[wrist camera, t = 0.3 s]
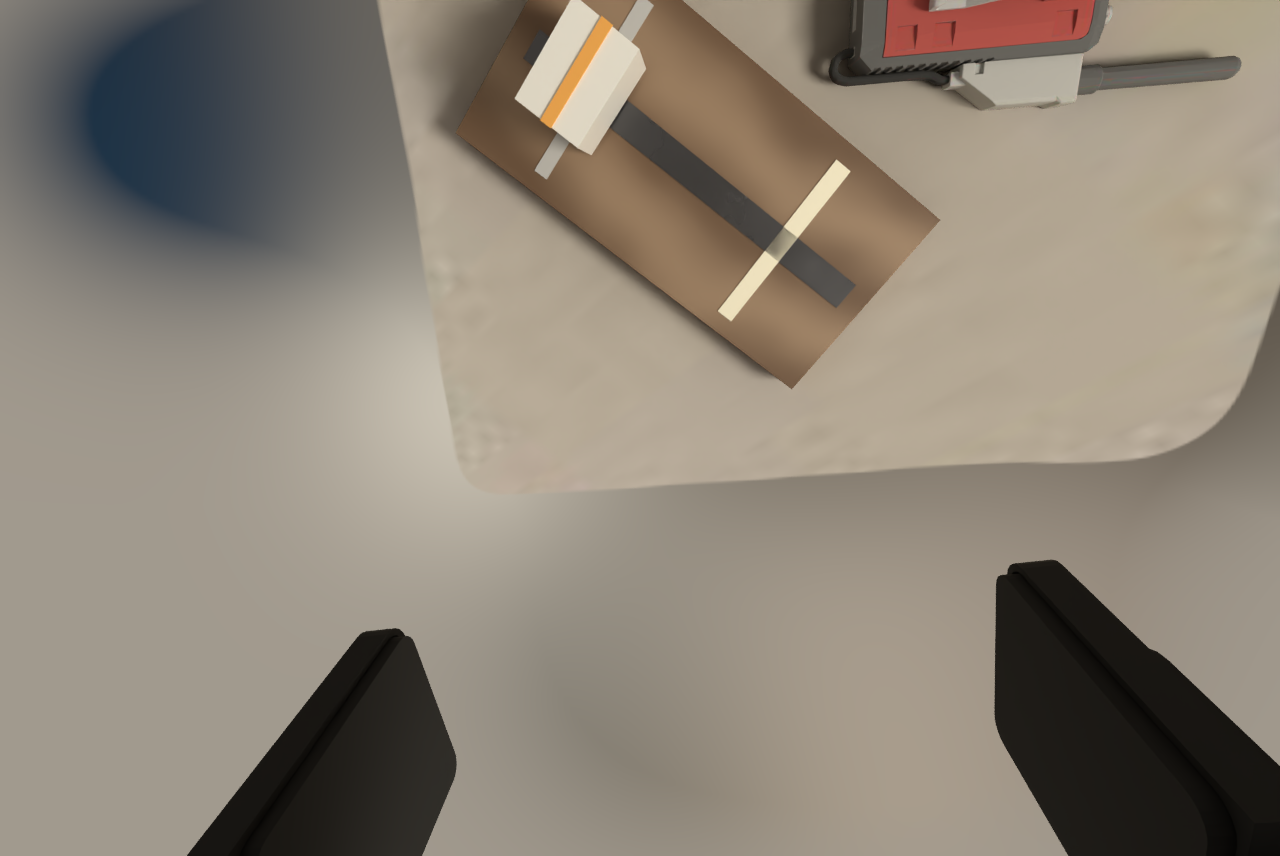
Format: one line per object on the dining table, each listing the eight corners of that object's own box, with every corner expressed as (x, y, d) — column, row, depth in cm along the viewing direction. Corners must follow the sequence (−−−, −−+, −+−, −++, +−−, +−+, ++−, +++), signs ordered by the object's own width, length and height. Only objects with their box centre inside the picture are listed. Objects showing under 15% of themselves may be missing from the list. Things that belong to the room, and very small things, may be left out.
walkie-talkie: (822, 128, 34) (1211, 96, 32) (840, 117, 30) (1288, 79, 28) (828, -63, 31) (1257, -112, 29) (849, -104, 27) (1352, -164, 25)
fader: (589, 20, 30) (573, -8, 26) (646, 68, 31) (640, 47, 27) (535, 112, 32) (513, 99, 28) (590, 156, 33) (576, 148, 29)
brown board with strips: (583, -72, 31) (576, -90, 29) (926, 219, 34) (940, 220, 33) (468, 137, 35) (455, 133, 33) (786, 380, 38) (791, 389, 36)
